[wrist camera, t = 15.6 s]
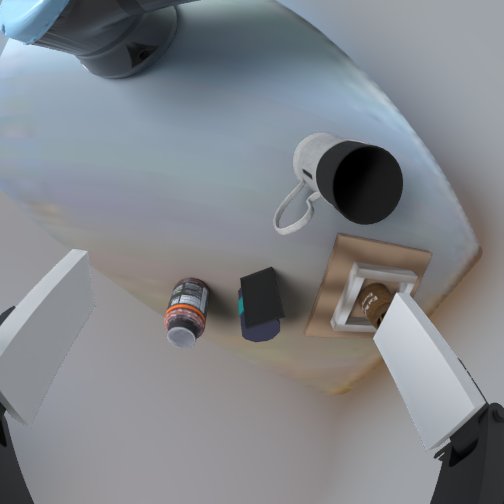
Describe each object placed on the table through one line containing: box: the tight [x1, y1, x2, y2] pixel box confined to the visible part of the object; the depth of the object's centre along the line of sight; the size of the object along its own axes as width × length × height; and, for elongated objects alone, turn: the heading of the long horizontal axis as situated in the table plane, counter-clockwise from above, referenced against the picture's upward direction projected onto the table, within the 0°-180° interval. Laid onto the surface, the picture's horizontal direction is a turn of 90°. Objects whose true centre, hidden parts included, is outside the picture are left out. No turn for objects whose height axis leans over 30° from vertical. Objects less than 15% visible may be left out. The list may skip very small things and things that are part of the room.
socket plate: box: [304, 233, 432, 338], centre depth 44 cm, size 20×20×4 cm
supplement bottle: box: [164, 278, 209, 348], centre depth 39 cm, size 6×6×11 cm
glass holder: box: [273, 132, 403, 235], centre depth 30 cm, size 9×14×15 cm, turn 125°
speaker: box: [238, 267, 285, 342], centre depth 40 cm, size 8×6×10 cm
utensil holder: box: [359, 283, 394, 330], centre depth 40 cm, size 6×6×12 cm
